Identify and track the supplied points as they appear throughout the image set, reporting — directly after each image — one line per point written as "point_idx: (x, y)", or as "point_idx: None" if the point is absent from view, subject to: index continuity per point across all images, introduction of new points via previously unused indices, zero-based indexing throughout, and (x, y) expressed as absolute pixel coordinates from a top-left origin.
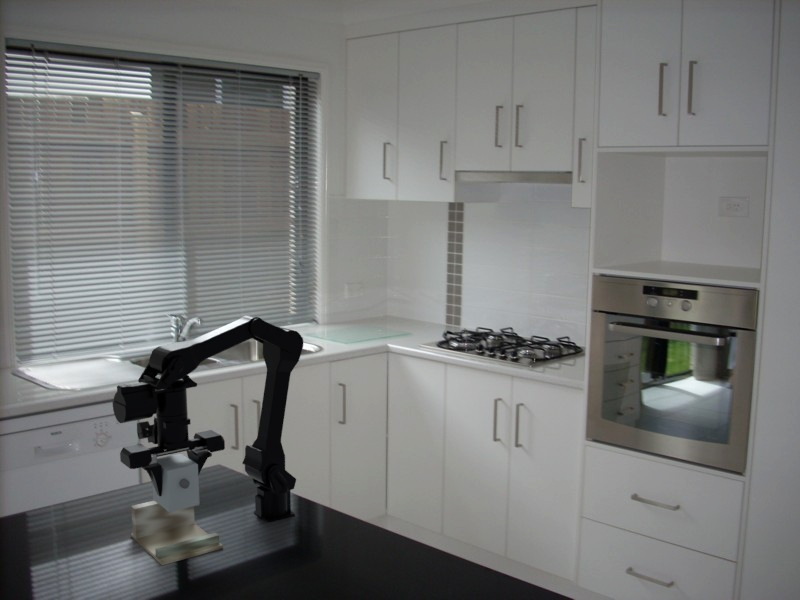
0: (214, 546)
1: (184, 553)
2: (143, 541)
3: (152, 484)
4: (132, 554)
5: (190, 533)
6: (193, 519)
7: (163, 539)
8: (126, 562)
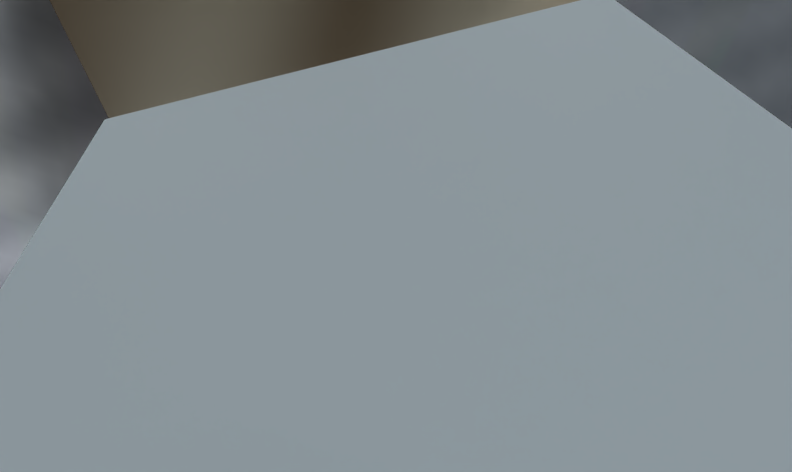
0: None
1: None
2: (94, 25)
3: (11, 276)
4: (31, 146)
5: (498, 17)
6: None
7: (267, 54)
8: (8, 250)
